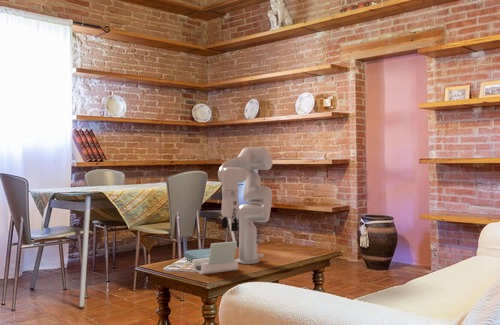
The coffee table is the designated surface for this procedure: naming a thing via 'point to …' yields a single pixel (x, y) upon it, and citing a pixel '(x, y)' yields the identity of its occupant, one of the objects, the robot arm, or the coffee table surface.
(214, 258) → the cover
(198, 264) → the white channel
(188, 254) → the book
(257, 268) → the coffee table surface
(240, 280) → the coffee table surface
